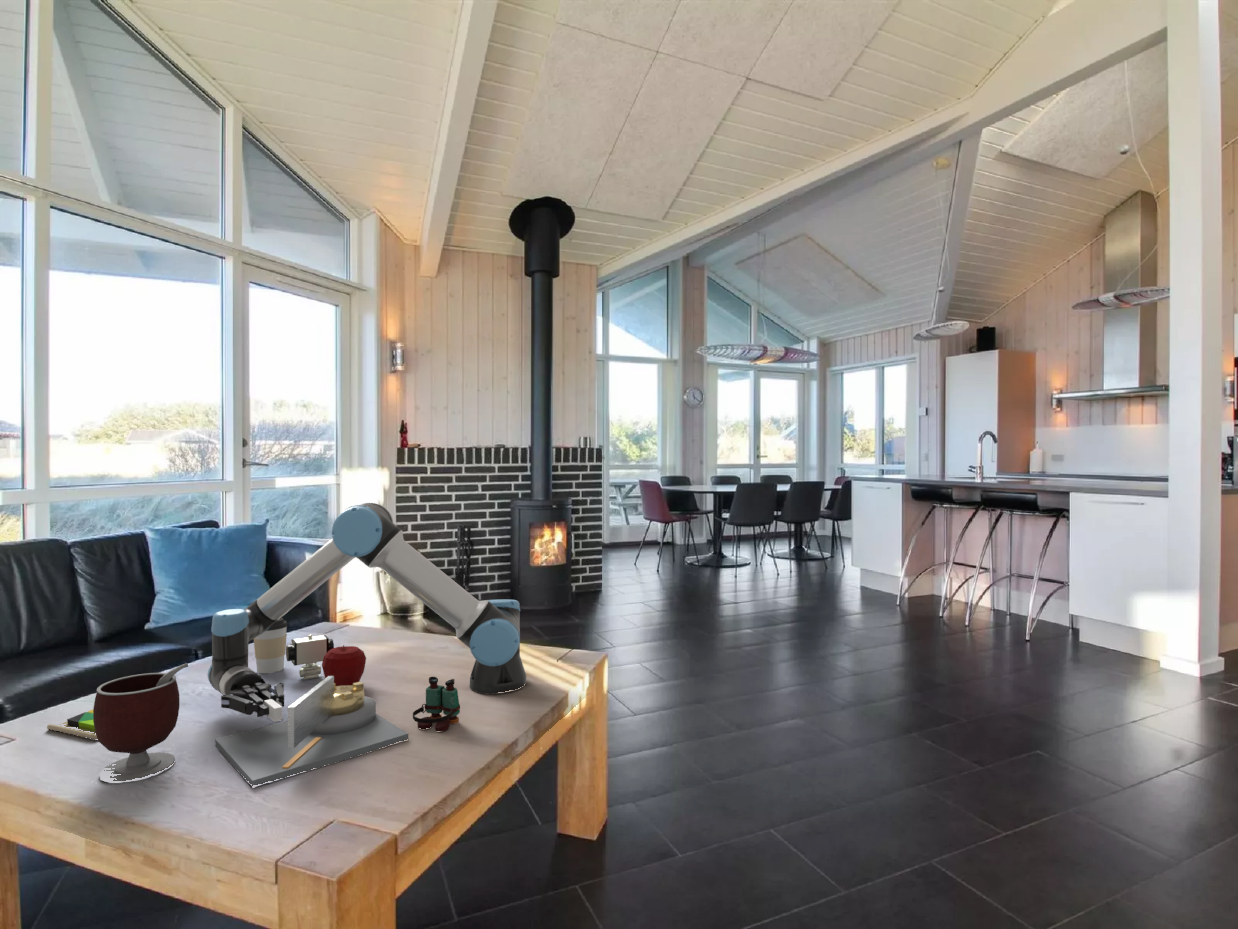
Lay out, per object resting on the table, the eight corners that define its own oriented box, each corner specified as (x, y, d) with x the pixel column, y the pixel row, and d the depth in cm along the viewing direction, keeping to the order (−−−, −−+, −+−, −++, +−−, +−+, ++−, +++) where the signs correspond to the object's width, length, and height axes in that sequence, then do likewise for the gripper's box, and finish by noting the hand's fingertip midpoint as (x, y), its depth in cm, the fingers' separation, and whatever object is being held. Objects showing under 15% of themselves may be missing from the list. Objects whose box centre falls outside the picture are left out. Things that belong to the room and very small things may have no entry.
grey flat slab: (358, 708, 166) (358, 690, 166) (408, 740, 148) (408, 719, 148) (215, 746, 145) (215, 725, 145) (252, 788, 126) (252, 764, 126)
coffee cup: (294, 668, 199) (293, 617, 198) (263, 676, 191) (263, 623, 191) (276, 663, 203) (276, 613, 203) (246, 671, 196) (245, 619, 196)
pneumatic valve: (334, 675, 192) (334, 633, 191) (288, 683, 185) (288, 639, 185) (330, 670, 196) (329, 629, 196) (285, 678, 189) (285, 635, 189)
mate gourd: (83, 791, 125) (82, 683, 125) (105, 761, 138) (104, 662, 138) (182, 775, 131) (181, 672, 131) (194, 747, 144) (193, 654, 144)
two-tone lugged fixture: (324, 698, 160) (324, 663, 160) (371, 697, 161) (371, 663, 160) (262, 749, 132) (262, 707, 132) (319, 749, 132) (319, 707, 132)
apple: (329, 698, 173) (329, 653, 173) (316, 688, 181) (316, 644, 181) (372, 688, 181) (372, 645, 181) (357, 679, 189) (357, 637, 189)
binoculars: (404, 690, 151) (431, 672, 160) (408, 735, 152) (434, 715, 162) (439, 695, 148) (464, 676, 158) (442, 740, 149) (466, 719, 159)
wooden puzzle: (44, 733, 153) (43, 718, 153) (130, 705, 171) (130, 691, 171) (94, 744, 147) (94, 728, 147) (178, 714, 164) (178, 699, 164)
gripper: (273, 696, 160) (311, 723, 143) (210, 710, 150) (243, 742, 134) (273, 664, 160) (311, 688, 143) (210, 676, 150) (243, 704, 134)
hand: (278, 714), depth 138 cm, fingers closed
